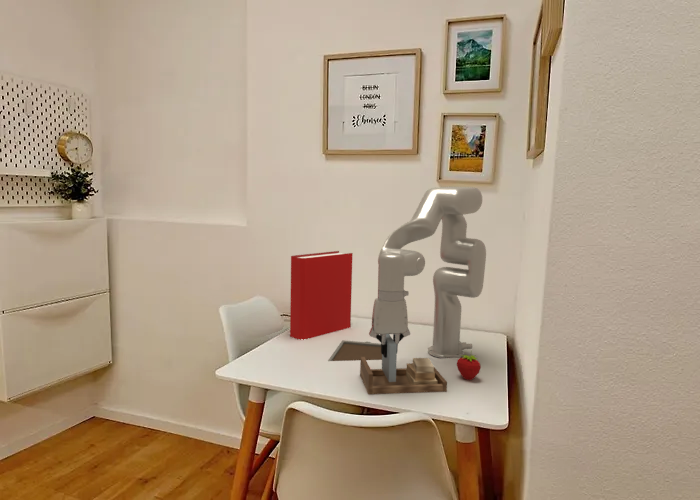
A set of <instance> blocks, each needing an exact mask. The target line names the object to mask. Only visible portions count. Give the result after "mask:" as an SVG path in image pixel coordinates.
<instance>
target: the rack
mask: <svg viewBox="0 0 700 500" xmlns="http://www.w3.org/2000/svg"><path fill="white" fill-rule="evenodd" d="M359 366H360V367H359V368H360V370H359V376H360V378H361V381H362V383H363V386H364V388H365V390H366V393H367V395H386V394H387V395H388V394H390V395H391V394H414V393H415V394H416V393H419V394H420V393H441V392H442V393H443V392H446V393H447V391H448V381H447V379H446V378H444V377H443V375H442V374H441V373H440V372H439V371H438V369H437V368H436V367H435V366H434V372H435V378H436V380H437V381H438V383H437V384H423V385H411V384H410V382H409V381H408V379H407V378H406V369H407V367H405V368H404V367H403V368H401V367H400V368H396V382H389V381H388V379H387V377H386V376H385V374H384V372H383V370H382V368H374V369H373V368H372V369H371V367H370V365H369V362H368V360H366V359H365V357H361V360H360V365H359Z"/></svg>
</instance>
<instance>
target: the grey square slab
mask: <svg viewBox="0 0 700 500" xmlns="http://www.w3.org/2000/svg"><path fill="white" fill-rule="evenodd" d="M386 344H387V357H386V358H385V357H384V356H383V354H382V360H381V369H382V370H383V372H384V374H385V376H386V377H387V379H388V381H389V382H396V369H397V359H398V358H397V354H398V351H397V344H396V343H395V342H394V340H393V337H392V336H391V334H386Z"/></svg>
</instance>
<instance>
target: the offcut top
mask: <svg viewBox="0 0 700 500" xmlns="http://www.w3.org/2000/svg"><path fill="white" fill-rule="evenodd" d="M412 363H413V366H414V368H415V371H416V373H434V367H435V366H434V364H433V363H432V360H431V359H430V358H429V357H428V358H427V357H424V358H421V357H413V358H412Z"/></svg>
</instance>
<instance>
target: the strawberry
mask: <svg viewBox="0 0 700 500" xmlns="http://www.w3.org/2000/svg"><path fill="white" fill-rule="evenodd" d="M470 352H472V349H470ZM461 356H462V357H460V358H457V361H456V367H457V370H458V372H459V374H460V375H461V377H462V378H463V379H464V380H467V381H472V380H473V379H475V378H476V377H477V376H478V374H479V373H480V372H481V368H482V366H481V363H480V362H479V361H478V360H479V358H478V357H476V355H474V354H473V355H472V354H470V355H467V354H463V355H461Z"/></svg>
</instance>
